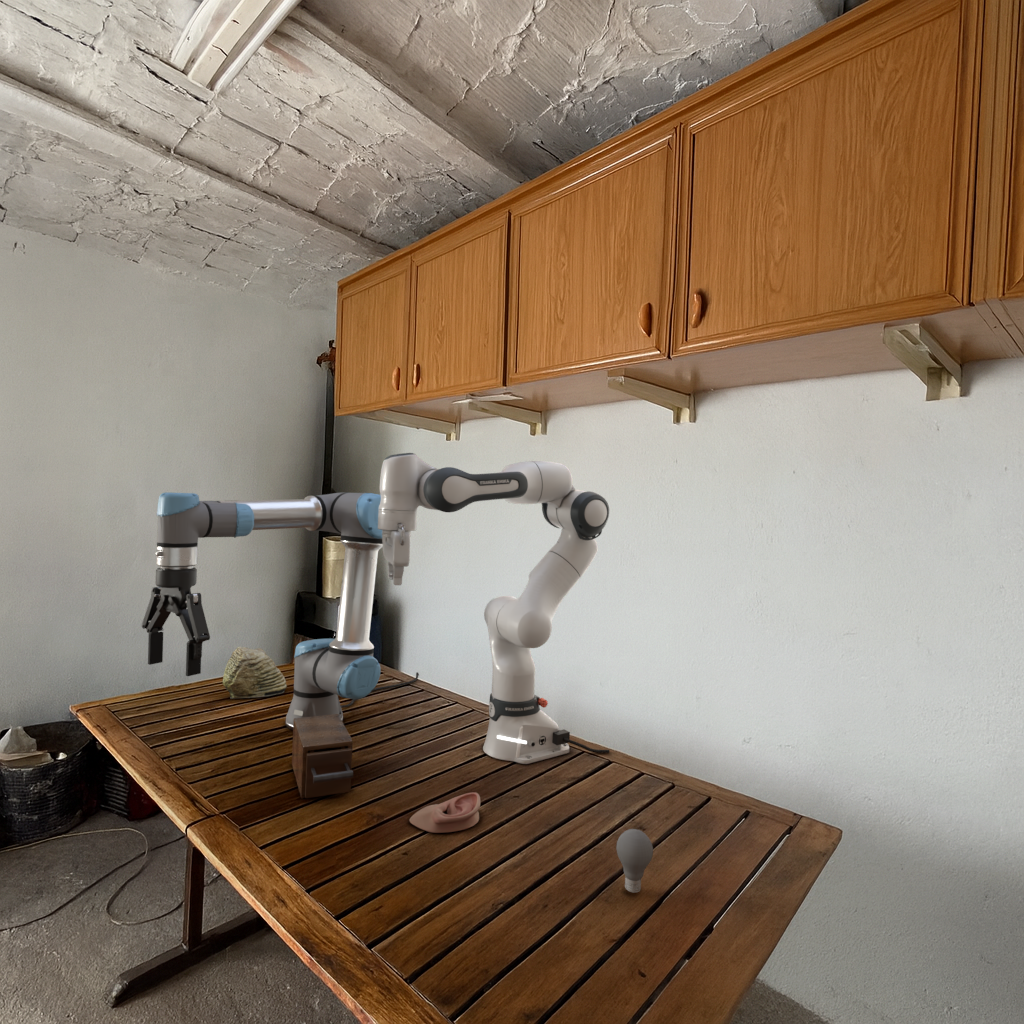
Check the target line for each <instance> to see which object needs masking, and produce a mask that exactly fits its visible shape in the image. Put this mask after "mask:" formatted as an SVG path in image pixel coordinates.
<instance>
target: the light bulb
mask: <svg viewBox="0 0 1024 1024" xmlns="http://www.w3.org/2000/svg"><path fill="white" fill-rule="evenodd" d="M615 849H616V854H617V857H618V859H619V861H620V863H621V865H622V867H623V873H624V874H623V875H624V876H625V878H624V888H625V890H627V891H628V892H630V893H634V894H635V893H639V892H640V891H641V889H642V887H641V886H642V879H643V877H644V875H645V871H646V868H647V867H648V866H649V864H650V863H651V861H652V859H653V855H654V847H653V843H652V841H651V838H649V836H648V835H647V834H646V833H645V832H643V831H642V830H641V829H636V828H629V829H627V830H625V831H623V832H622V833H621V834H620V835H619V837H618V839H617V841H616V847H615Z"/></svg>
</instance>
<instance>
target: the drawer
mask: <svg viewBox="0 0 1024 1024" xmlns="http://www.w3.org/2000/svg"><path fill="white" fill-rule="evenodd" d="M351 753H352V754H353V749H352V750H351V748H347V749H345V746H344V747H335V748H327V749H319V750H311V751H308V753H307V757H306V783H305V798H304V799H312V798H318V797H324V796H330V795H331V796H332V795H338V794H344V793H350V792H351V791H350V779H351V780H352V779H353V778H354V771H353V769H351Z"/></svg>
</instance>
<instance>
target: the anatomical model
mask: <svg viewBox="0 0 1024 1024" xmlns="http://www.w3.org/2000/svg"><path fill="white" fill-rule="evenodd" d="M480 808H481V796H480V794H479V793H478V792H476V791H475V792H467V793H463V794H460V795H458V796H455V797H452V798H450V799H448V800H445V801H443V802H441V803H435V804H430V805H427V806H424V807H422V808H421V809H419V810H418V811H416V812H415V813H414V814H412V816H411V817H410V818H409V823H410V824H411V825H413V826H414V827H416V828H418V829H420V830H423V831H426V832H428V833H433V834H441V833H452V832H458V831H464V830H467V829H469V828H471V827H474V826H475V825H476V824H478V823H479V820H480V812H479V809H480Z"/></svg>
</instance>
